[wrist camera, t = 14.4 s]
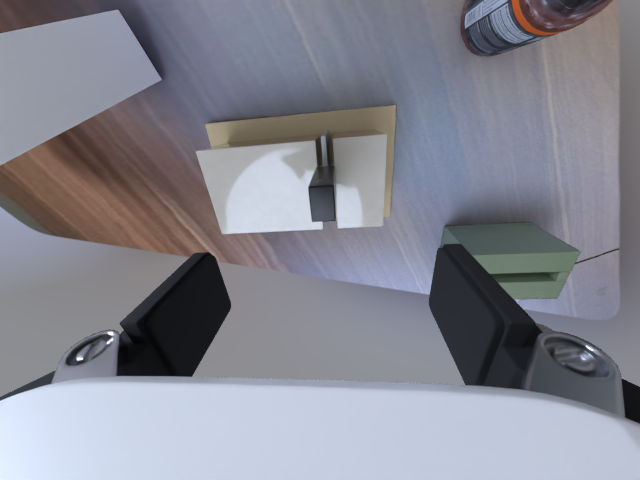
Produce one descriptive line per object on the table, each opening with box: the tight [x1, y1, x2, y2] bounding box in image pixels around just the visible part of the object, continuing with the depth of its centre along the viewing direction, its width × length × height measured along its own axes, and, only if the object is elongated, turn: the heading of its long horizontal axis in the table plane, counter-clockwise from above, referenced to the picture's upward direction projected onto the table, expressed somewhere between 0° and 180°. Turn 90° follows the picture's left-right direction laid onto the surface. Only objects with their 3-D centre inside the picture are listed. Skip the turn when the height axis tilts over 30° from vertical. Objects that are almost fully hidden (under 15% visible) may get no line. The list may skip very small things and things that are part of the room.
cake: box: [196, 105, 396, 234], centre depth 24 cm, size 12×20×8 cm, turn 95°
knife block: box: [441, 222, 581, 299], centre depth 28 cm, size 10×6×7 cm, turn 95°
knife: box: [308, 130, 337, 222], centre depth 20 cm, size 7×2×13 cm, turn 5°
